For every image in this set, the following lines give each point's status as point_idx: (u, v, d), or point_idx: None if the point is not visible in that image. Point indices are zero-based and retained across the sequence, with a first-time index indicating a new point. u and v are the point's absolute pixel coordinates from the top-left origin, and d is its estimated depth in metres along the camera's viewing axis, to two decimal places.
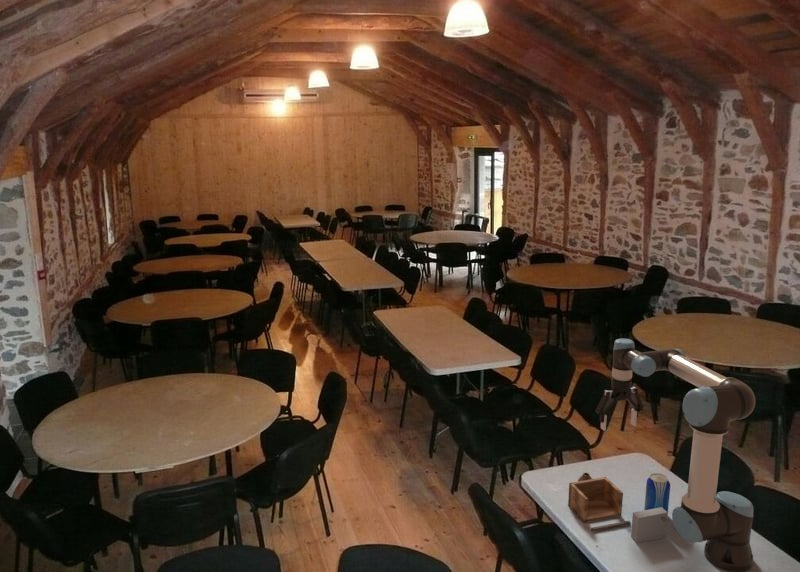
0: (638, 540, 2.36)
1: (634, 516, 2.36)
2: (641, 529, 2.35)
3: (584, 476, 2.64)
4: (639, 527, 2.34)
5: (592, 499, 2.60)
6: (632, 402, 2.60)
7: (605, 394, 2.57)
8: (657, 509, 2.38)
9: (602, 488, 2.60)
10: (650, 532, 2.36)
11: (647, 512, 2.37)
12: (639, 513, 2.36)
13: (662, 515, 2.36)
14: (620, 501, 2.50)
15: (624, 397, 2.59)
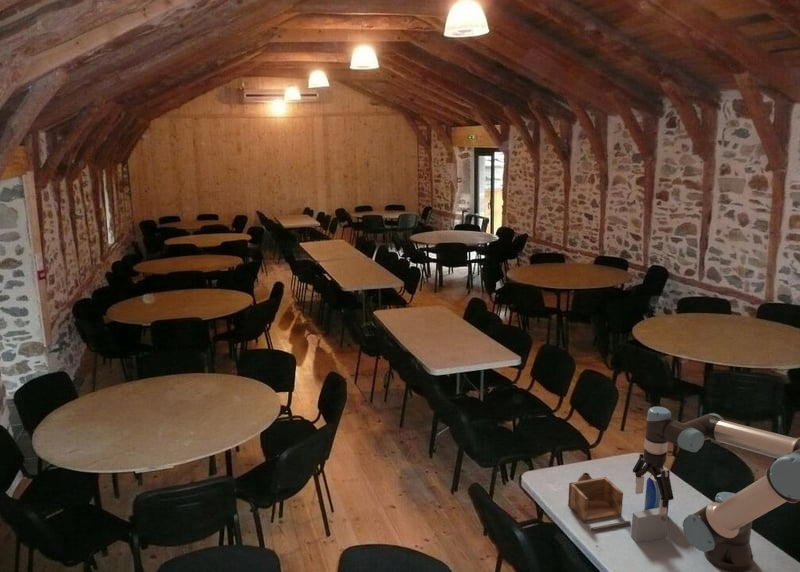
0: (638, 540, 2.36)
1: (634, 516, 2.36)
2: (641, 529, 2.35)
3: (584, 476, 2.64)
4: (639, 527, 2.34)
5: (592, 499, 2.60)
6: (658, 484, 2.28)
7: None
8: (657, 509, 2.38)
9: (602, 488, 2.60)
10: (650, 532, 2.36)
11: (647, 512, 2.37)
12: (639, 513, 2.36)
13: (662, 515, 2.36)
14: (620, 501, 2.50)
15: None
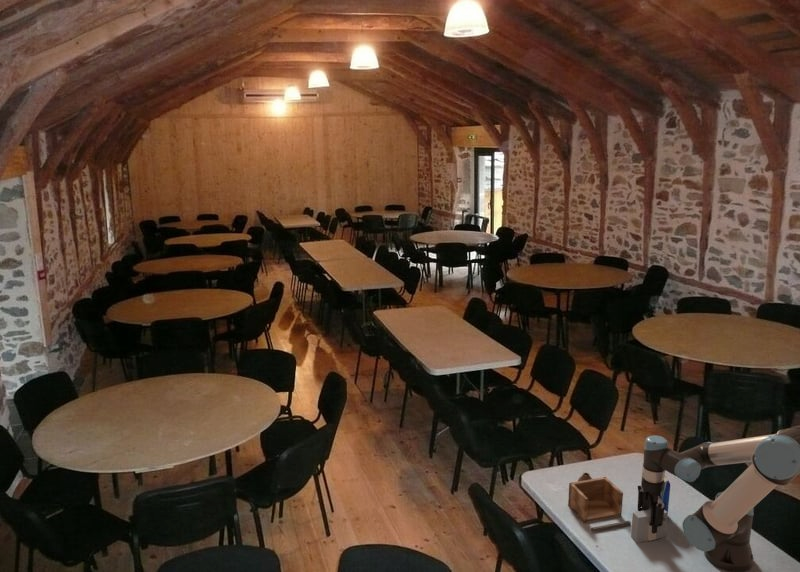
0: (638, 540, 2.36)
1: (634, 516, 2.36)
2: (641, 529, 2.35)
3: (584, 476, 2.64)
4: (639, 527, 2.34)
5: (592, 499, 2.60)
6: (651, 511, 2.34)
7: None
8: None
9: (602, 488, 2.60)
10: None
11: (647, 512, 2.37)
12: (639, 513, 2.36)
13: None
14: (620, 501, 2.50)
15: None
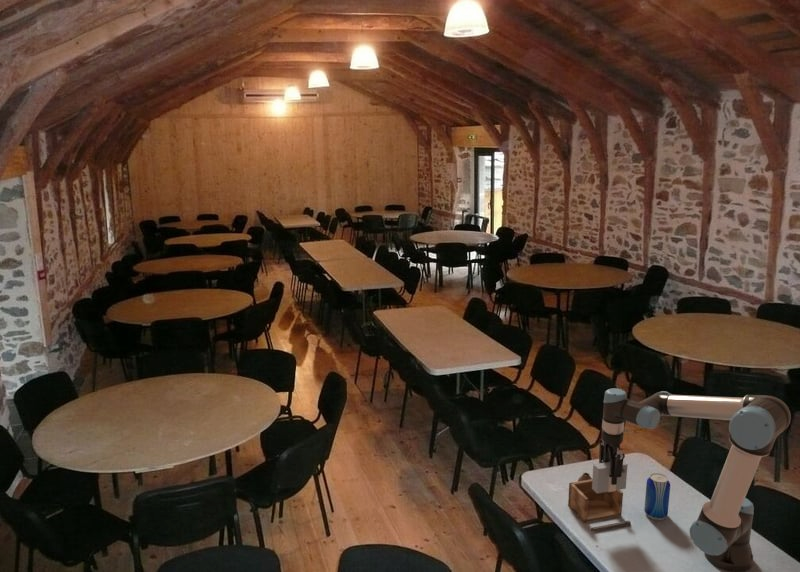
0: (598, 491, 2.41)
1: (594, 468, 2.41)
2: (601, 480, 2.40)
3: (584, 476, 2.64)
4: (599, 478, 2.39)
5: (592, 499, 2.60)
6: (611, 463, 2.39)
7: None
8: None
9: None
10: None
11: (607, 464, 2.41)
12: (599, 465, 2.41)
13: (622, 467, 2.41)
14: (620, 501, 2.50)
15: None
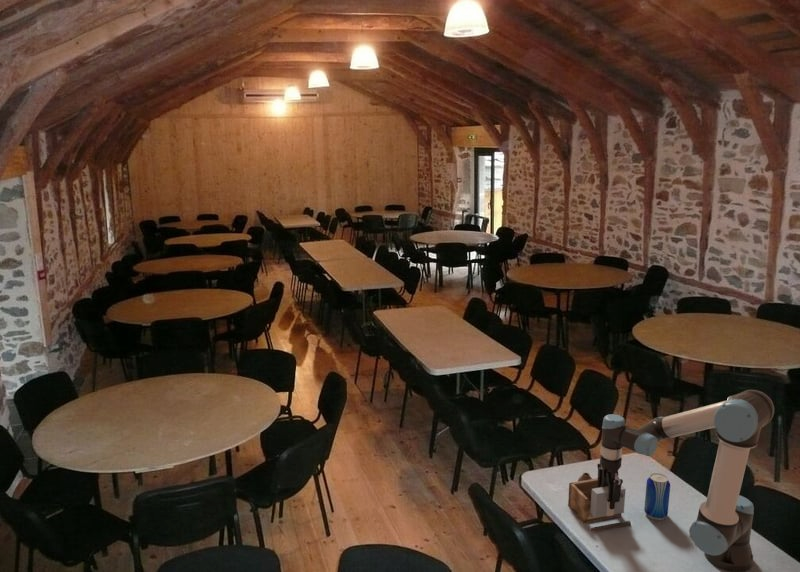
0: (596, 515, 2.43)
1: (593, 492, 2.43)
2: (600, 504, 2.42)
3: (584, 476, 2.64)
4: (597, 503, 2.42)
5: None
6: (609, 488, 2.41)
7: None
8: None
9: None
10: None
11: (605, 488, 2.44)
12: (598, 489, 2.43)
13: None
14: None
15: None
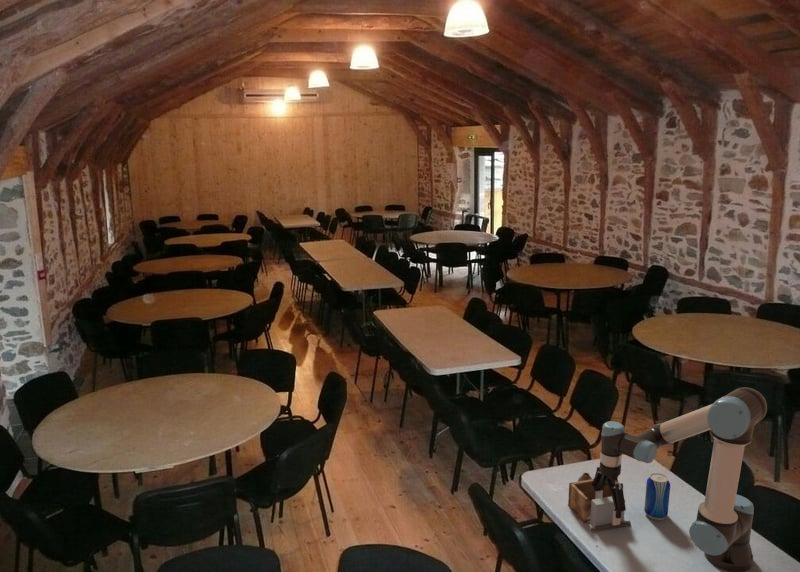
0: (596, 526, 2.44)
1: (592, 503, 2.44)
2: (599, 516, 2.43)
3: (584, 476, 2.64)
4: (597, 514, 2.43)
5: (592, 499, 2.60)
6: (612, 496, 2.39)
7: None
8: None
9: (602, 488, 2.60)
10: (608, 519, 2.45)
11: (605, 499, 2.45)
12: (597, 500, 2.44)
13: None
14: None
15: None
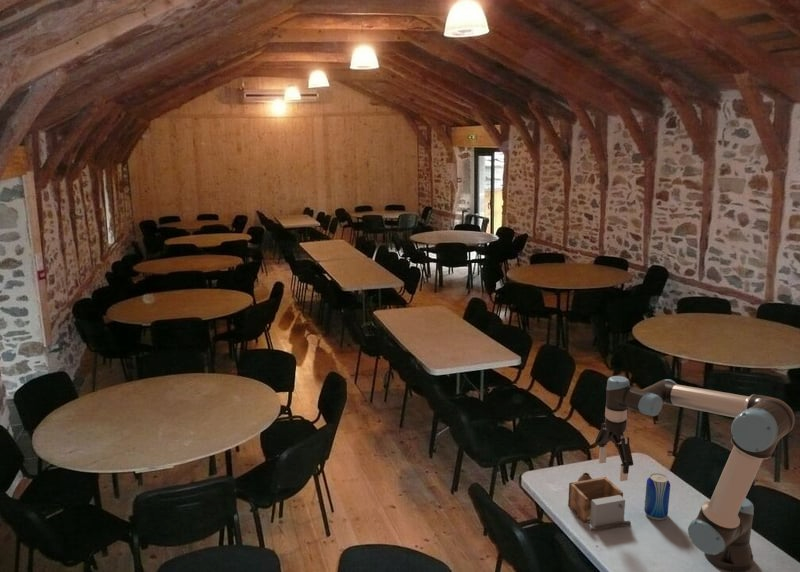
0: (596, 526, 2.44)
1: (592, 503, 2.44)
2: (599, 516, 2.43)
3: (584, 476, 2.64)
4: (597, 514, 2.43)
5: (592, 499, 2.60)
6: (619, 451, 2.35)
7: None
8: (615, 497, 2.46)
9: (602, 488, 2.60)
10: (608, 519, 2.45)
11: (605, 499, 2.45)
12: (597, 500, 2.44)
13: (620, 502, 2.44)
14: None
15: None
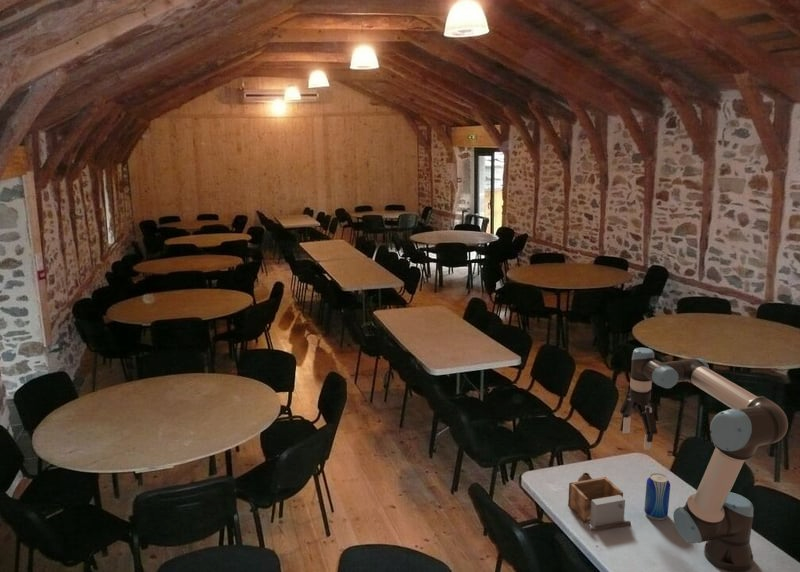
0: (596, 526, 2.44)
1: (592, 503, 2.44)
2: (599, 516, 2.43)
3: (584, 476, 2.64)
4: (597, 514, 2.43)
5: (592, 499, 2.60)
6: (643, 420, 2.43)
7: None
8: (615, 497, 2.47)
9: (602, 488, 2.60)
10: (608, 519, 2.45)
11: (605, 499, 2.45)
12: (597, 500, 2.44)
13: (620, 502, 2.44)
14: None
15: None
